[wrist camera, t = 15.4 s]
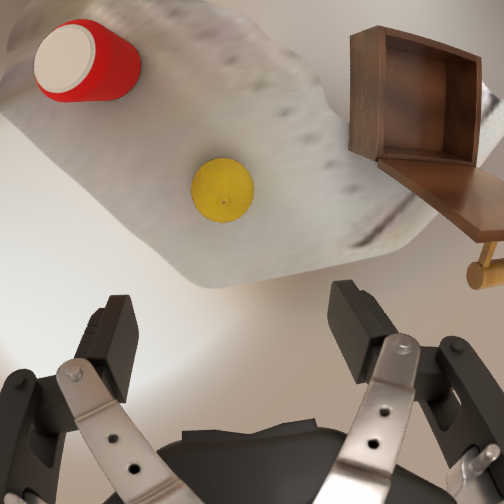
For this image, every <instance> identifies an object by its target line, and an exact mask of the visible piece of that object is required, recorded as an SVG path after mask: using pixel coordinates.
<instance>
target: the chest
mask: <svg viewBox="0 0 504 504" xmlns="http://www.w3.org/2000/svg"><path fill="white" fill-rule="evenodd" d="M350 71H351V72H350V77H351V79H350V128H349V151H352V152H354V153H357V154H359V155H361V156H364V157H366V158H368V159H371V160H373V161H375V162H378V159H392V160H407V161H420V162H431V163H442V164H451V165H460V166H469V167H476V162H477V154H478V145H479V134H480V120H481V97H482V64H481V57H478V56H476V55H473V54H471V53H468V52H466V51H463V50H460V49H457V48H455V47H452V46H449V45H446V44H443V43H440V42H437V41H434V40H431V39H427V38H425V37H421V36H418V35H414V34H411V33H407V32H403V31H399V30H395V29H391V28H387V27H383V26H375V27H372V28H370V29H367V30H364V31H362V32H359V33H356V34H354V35H351V36H350Z"/></svg>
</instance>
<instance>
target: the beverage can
mask: <svg viewBox="0 0 504 504" xmlns="http://www.w3.org/2000/svg"><path fill="white" fill-rule="evenodd" d="M140 71H141V60H140V56H139V53H138V51H137V50H136V48H135V47H134V46H133V45H131V44H130V43H129V42H127V41H126V40H124V39H123V38H121V37H119V36H118V35H116V34H115V33H113V32H112V31H110V30H109V29H107V28H105V27H104V26H102V25H101V24H99V23H97V22H95V21H92V20H87V19H78V20H72V21H69V22H66V23H64V24H62V25H60V26H58V27H57V28H56V29H54V30H53V31H52V32H51V33H50V34H48V35H47V36H46V37H45V39H44V40H43V41H42V43H41V44H40V46H39V48H38V50H37V52H36V55H35V59H34V75H35V79H36V82H37V85H38V86H39V88H40V90H41V91H42V92H43V93H44V94H45V95H46V96H47V97H49V98H50V99H53V100H55V101H58V102H83V101H109V100H114V99H117V98H120V97H122V96H123V95H125V94H126V93H127V92H129V91H130V90H131V89H132V87H133V86H134V85H135V83H136V82H137V80H138V78H139V75H140Z"/></svg>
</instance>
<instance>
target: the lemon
mask: <svg viewBox="0 0 504 504" xmlns="http://www.w3.org/2000/svg"><path fill="white" fill-rule="evenodd" d="M191 194H192V199H193V202H194V204H195V207H196V208H197V209H198V211H199V212H200V213H201V214H202V215H203V216H204V217H206V218H207V219H209V220H212V221H214V222H219V223H225V222H231V221H234V220H236V219H238V218H240V217H241V216H242V215H243V214H244V213H245V212H246V211H247V210H248V208H249V207H250V205H251V203H252V200H253V197H254V185H253V180H252V178H251V176H250V173H249V172H248V170H247V169H246V168H245V167H244V166H243V165H241V164H240V163H238V162H237V161H235V160H232V159H228V158H218V159H213V160H211V161H209V162H206V163H205V164H204V165H203V166H201V167H200V168H199V170H198V171H197V172H196V174H195V176H194V178H193V181H192V186H191Z"/></svg>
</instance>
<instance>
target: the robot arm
mask: <svg viewBox="0 0 504 504" xmlns="http://www.w3.org/2000/svg"><path fill="white" fill-rule="evenodd" d="M327 315H328V316H327V317H328V324H329V327H330V329H331V331H332V333H333V335H334V338H335V340H336V342H337V344H338V346H339V348H340V350H341V352H342V355H343V357H344V359H345V361H346V363H347V365H348V367H349V370H350V372H351V374H352V376H353V378H354V380H355V382H356V384H360V383H365V382H367V384H368V387H367V390H366V392H365V395H364V397H363V400H362V402H361V405H360V407H359V410H358V412H357V414H356V417H355V419H354V421H353V424H352V426H351V428H350V431H349V433H348V434H345V433H344V432H341V431H338V430H335V429H330V428H324V427H317V424H316V421H315V418H313V419H307V420H301V421H295V422H288V423H282V424H279V425H277V426H274V427H271V428H268V429H265V430H262V431H259V432H256V433H253V434H243V433H235V432H227V431H220V430H197V431H182V440H180V441H176V442H173V443H170V444H168V445H166V446H164V447H162V448H160V449H159V450H157V451H155V450H154V449H153V448H152V446H151V445H150V444H149V443H148V441H147V440H146V439H145V438H144V436H143V435H142V434H141V432H140V431H139V430H138V429H137V427H136V426H135V425H134V423H133V422H132V420H131V419H130V418H129V416H128V415H127V414H126V412H125V411H124V410H123V408H122V407H121V405H120V404H119V403H126V398H127V394H128V388H129V383H130V378H131V373H132V368H133V363H134V358H135V354H136V349H137V345H138V339H139V331H138V325H137V321H136V317H135V313H134V310H133V305H132V301H131V298H130V296H129V295H111V296H110V297H109V299H108V302H107V304H106V307H105V308H99V309H98V310H97V311H96V312H95V313H94V314H93V315H92V316H91V318H90V320H89V322H88V325H87V327H86V329H85V332H84V334H83V336H82V339H81V341H80V344H79V346H78V349H77V351H76V354H75V356H74V359H71V360H68V361H66V362H65V363H63V364H62V365H61V366H60V367H59V368H58V370H57V373H56V375H53V376H48V377H44V378H38V379H37V378H36V376H35V374H34V373H33V372H32V371H31V370H28V369H19V370H16V371H14V372H13V373H11V374H10V375H9V376H8V377H7V379H6V380H5V382H4V385H3V388H2V390H1V392H0V504H55V501H56V492H57V485H58V478H59V470H60V465H61V458H62V452H63V447H64V441H65V436H66V432H70V431H75V430H79V431H80V433H81V435H82V437H83V438H84V440H85V442H86V444H87V445H88V447H89V449H90V451H91V453H92V454H93V456H94V458H95V459H96V461H97V462H98V464H99V466H100V467H101V469H102V471H103V472H104V474H105V475H106V477H107V478H108V480H109V481H110V483H111V484H112V486H113V487H114V489H115V490H116V491H115V492H114V493H113V494H112V495H111V496H110V497H109V498H108V499H107V500H106V501H105V502H104V503H103V504H504V393H503V391H502V389H501V388H500V387H499V385H498V383H497V382H496V380H495V379H494V378H493V376H492V375H491V373H490V372H489V370H488V369H487V368H486V366H485V365H484V363H483V362H482V360H481V359H480V358H479V356H478V355H477V354H476V352H475V351H474V349H473V348H472V347H471V345H470V344H469V343H468V342H467V341H465V340H464V339H462V338H460V337H456V336H447V337H445V338H443V339H442V341H441V342H440V345H439V347H424V346H420V345H419V343H418V342H417V341H416V340H415V339H414V338H413V337H411V336H409V335H406V334H402V333H399V332H398V331H397V329H396V328H395V326H394V325H393V324H392V322H391V320H390V319H389V318H388V316H387V315H386V313H384V311H383V309H382V308H381V307H380V306H379V304H378V302H377V301H376V300H375V298H374V297H373V296H371V295H370V294H369V293H367V292H366V291H364V290H361V291H359V289H358V288H357V286H356V285H355V283H354V282H353V281H352V280H341V281H333V283H332V286H331V292H330V299H329V307H328V314H327ZM453 390H455V392H456V393H457V395H458V397H459V399H460V401H461V405H460V403H459V402H458V400H457V398H456V397H455V395H454V393H453ZM413 401H418V402H419V404H420V406H421V408H422V410H423V412H424V414H425V416H426V418H427V420H428V422H429V424H430V427H431V429H432V431H433V433H434V435H435V437H436V440H437V442H438V444H439V446H440V448H441V451H442V453H443V455H444V457H445V460H446V462H447V464H448V467H449V469H450V470H449V471H448V473H447V476H446V484H447V487H446V491H445V490H444V489H442V488H440V487H438V486H436V485H434V484H432V483H430V482H428V481H427V480H424V479H423V478H421V477H419V476H417V475H416V474H414V473H412V472H410V471H408V470H407V469H405V468H403V467H401V466H400V465H398V464H396V461H397V459H398V456H399V452H400V449H401V446H402V443H403V439H404V436H405V432H406V429H407V425H408V421H409V417H410V413H411V409H412V405H413Z"/></svg>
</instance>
